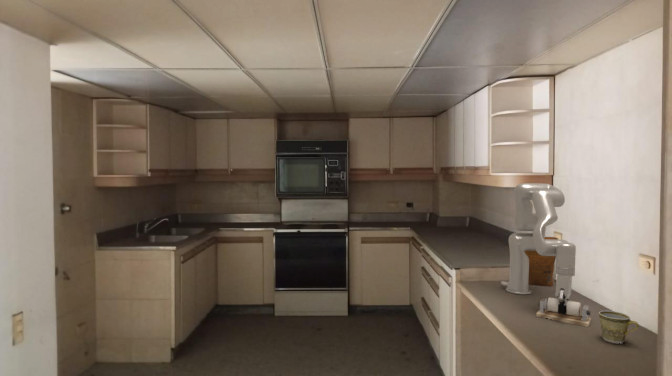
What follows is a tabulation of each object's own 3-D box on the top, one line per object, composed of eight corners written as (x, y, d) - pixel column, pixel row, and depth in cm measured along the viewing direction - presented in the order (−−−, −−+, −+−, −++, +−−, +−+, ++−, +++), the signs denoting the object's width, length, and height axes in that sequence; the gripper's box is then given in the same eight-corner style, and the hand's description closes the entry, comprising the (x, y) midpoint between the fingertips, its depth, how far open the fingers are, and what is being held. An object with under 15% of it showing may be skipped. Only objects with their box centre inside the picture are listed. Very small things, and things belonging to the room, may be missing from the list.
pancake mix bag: (557, 288, 238) (559, 238, 237) (520, 284, 244) (522, 235, 243) (555, 284, 244) (557, 236, 243) (519, 281, 250) (520, 234, 249)
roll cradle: (536, 316, 190) (536, 301, 189) (540, 311, 197) (541, 296, 196) (588, 327, 177) (588, 310, 177) (591, 321, 185) (591, 305, 184)
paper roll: (546, 312, 188) (547, 298, 188) (549, 309, 193) (550, 295, 193) (578, 318, 181) (578, 304, 181) (580, 314, 186) (580, 301, 186)
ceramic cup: (593, 339, 165) (594, 313, 164) (604, 333, 171) (605, 308, 170) (632, 350, 154) (633, 323, 154) (642, 344, 160) (643, 318, 160)
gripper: (559, 266, 195) (557, 305, 196) (551, 273, 182) (549, 315, 182) (577, 268, 191) (576, 308, 192) (571, 276, 177) (569, 319, 178)
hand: (563, 311), depth 187 cm, fingers closed on paper roll, 5 cm apart
